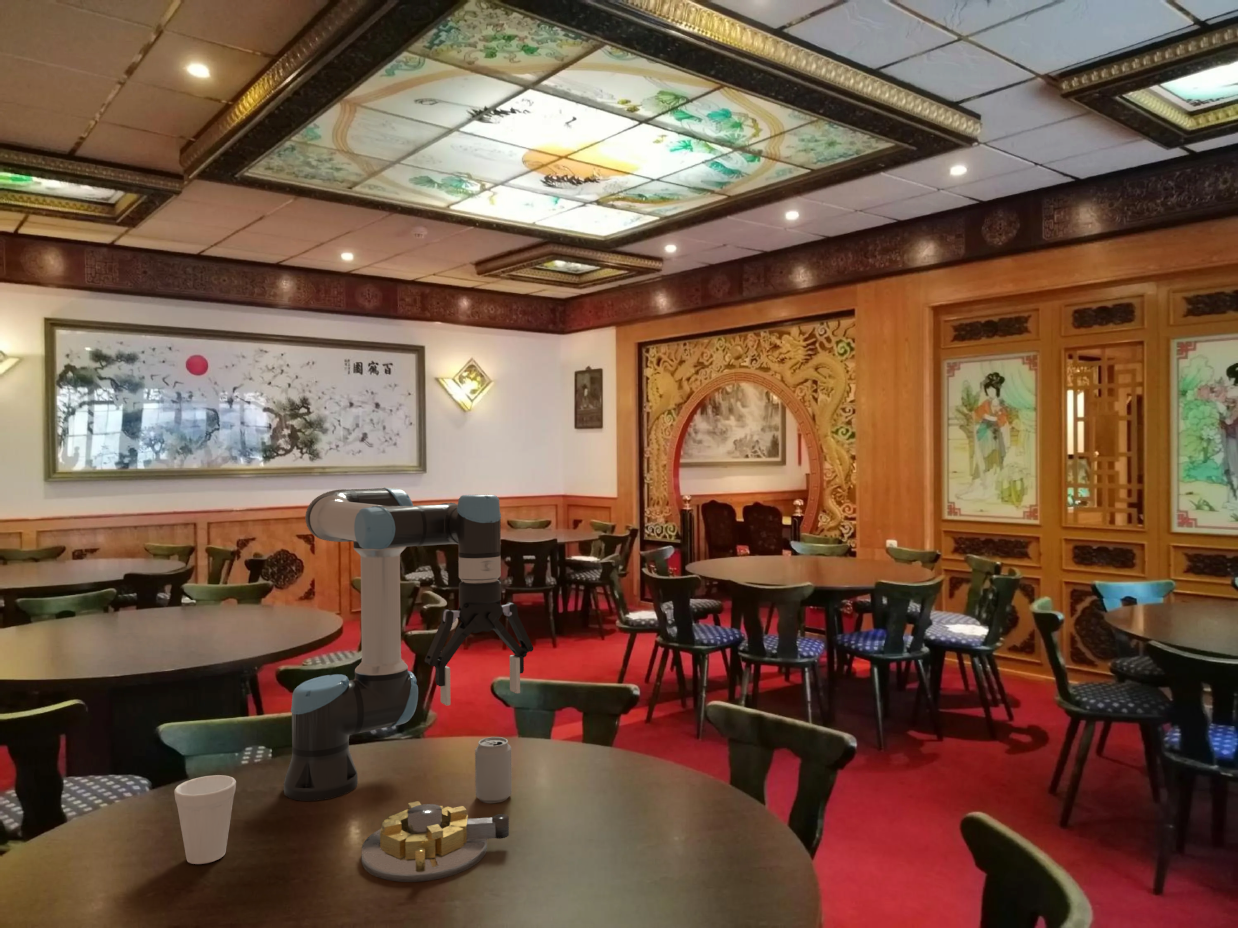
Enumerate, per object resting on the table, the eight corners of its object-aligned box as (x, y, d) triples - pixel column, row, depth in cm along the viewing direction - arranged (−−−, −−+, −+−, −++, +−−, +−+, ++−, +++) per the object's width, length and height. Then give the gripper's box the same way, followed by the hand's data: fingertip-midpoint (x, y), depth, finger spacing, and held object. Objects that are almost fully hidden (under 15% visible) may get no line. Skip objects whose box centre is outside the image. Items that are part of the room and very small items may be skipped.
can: (504, 805, 175) (504, 747, 175) (470, 803, 177) (469, 745, 177) (516, 792, 183) (515, 735, 183) (483, 789, 184) (482, 733, 184)
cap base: (343, 847, 157) (343, 806, 157) (454, 816, 170) (453, 779, 170) (390, 894, 139) (389, 848, 139) (509, 856, 152) (508, 814, 152)
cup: (205, 874, 147) (204, 798, 147) (161, 865, 150) (160, 791, 150) (249, 850, 156) (248, 778, 156) (207, 842, 160) (206, 772, 160)
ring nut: (375, 860, 146) (375, 836, 146) (388, 824, 161) (388, 802, 161) (508, 852, 149) (508, 828, 149) (509, 817, 164) (509, 795, 164)
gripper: (421, 588, 145) (422, 713, 145) (550, 576, 159) (551, 691, 159) (405, 583, 151) (406, 703, 151) (531, 572, 165) (532, 682, 165)
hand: (481, 697), depth 155 cm, fingers open, 13 cm apart
